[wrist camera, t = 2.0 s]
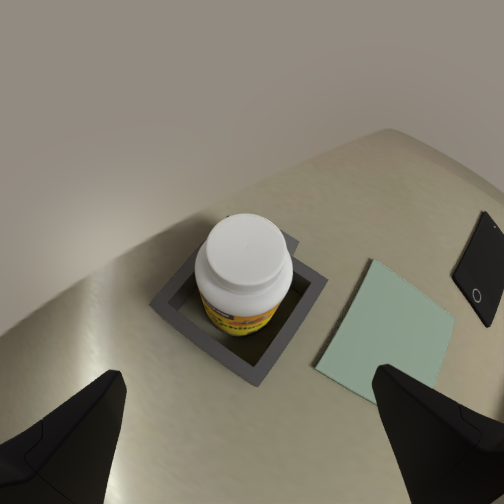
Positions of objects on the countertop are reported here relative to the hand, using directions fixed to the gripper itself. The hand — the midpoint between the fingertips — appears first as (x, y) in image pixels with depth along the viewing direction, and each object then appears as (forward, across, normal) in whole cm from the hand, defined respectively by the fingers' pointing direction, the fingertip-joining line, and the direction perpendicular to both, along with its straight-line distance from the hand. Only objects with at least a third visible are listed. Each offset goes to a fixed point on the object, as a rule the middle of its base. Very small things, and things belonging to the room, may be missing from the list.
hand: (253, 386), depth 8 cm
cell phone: (+16, -34, +2) cm, 38 cm away
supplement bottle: (+14, 0, +4) cm, 14 cm away
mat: (+10, -14, +7) cm, 19 cm away
